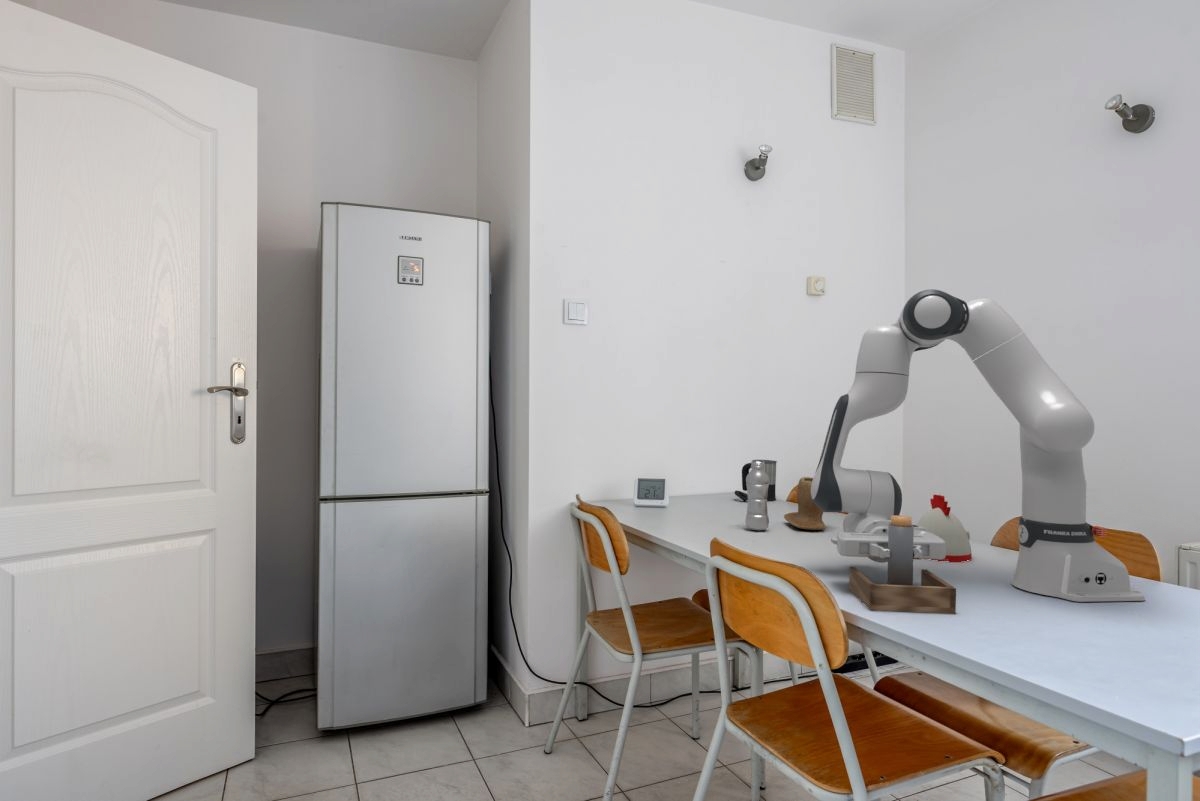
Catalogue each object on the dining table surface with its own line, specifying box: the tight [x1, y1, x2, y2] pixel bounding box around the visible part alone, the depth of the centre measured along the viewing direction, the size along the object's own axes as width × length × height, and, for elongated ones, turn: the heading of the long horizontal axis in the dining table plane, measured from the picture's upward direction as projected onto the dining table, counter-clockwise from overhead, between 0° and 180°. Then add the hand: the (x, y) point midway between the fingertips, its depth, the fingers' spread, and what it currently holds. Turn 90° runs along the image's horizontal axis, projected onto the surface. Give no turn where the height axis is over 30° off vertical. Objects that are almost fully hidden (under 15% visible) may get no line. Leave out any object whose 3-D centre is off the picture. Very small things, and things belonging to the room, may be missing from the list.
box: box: [848, 566, 957, 615], centre depth 134 cm, size 15×14×4 cm
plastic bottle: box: [744, 460, 770, 532], centre depth 203 cm, size 6×7×20 cm
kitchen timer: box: [915, 494, 972, 563], centre depth 173 cm, size 14×14×15 cm
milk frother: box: [734, 459, 778, 502], centre depth 263 cm, size 14×16×15 cm
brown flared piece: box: [783, 476, 826, 531], centre depth 208 cm, size 15×12×15 cm
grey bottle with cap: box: [887, 514, 914, 586], centre depth 133 cm, size 4×4×14 cm
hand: (902, 554), depth 132 cm, fingers closed on grey bottle with cap, 4 cm apart
